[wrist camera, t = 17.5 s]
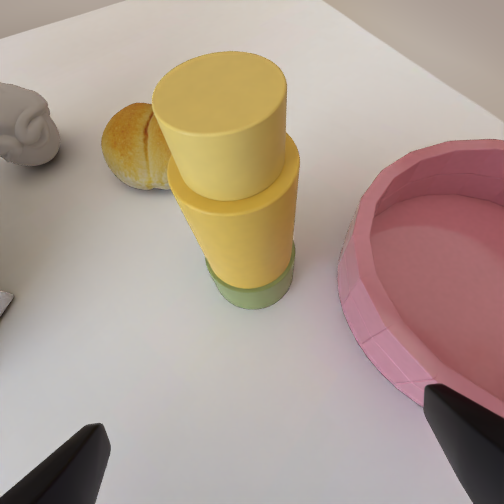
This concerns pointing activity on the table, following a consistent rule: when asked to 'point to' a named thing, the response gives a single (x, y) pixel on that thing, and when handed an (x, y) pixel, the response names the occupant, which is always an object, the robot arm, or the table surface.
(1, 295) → the string lights box
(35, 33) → the table surface
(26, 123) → the grey lumpy round lump
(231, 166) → the yellow stepped cylinder
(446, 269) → the bowl
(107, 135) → the bread roll
